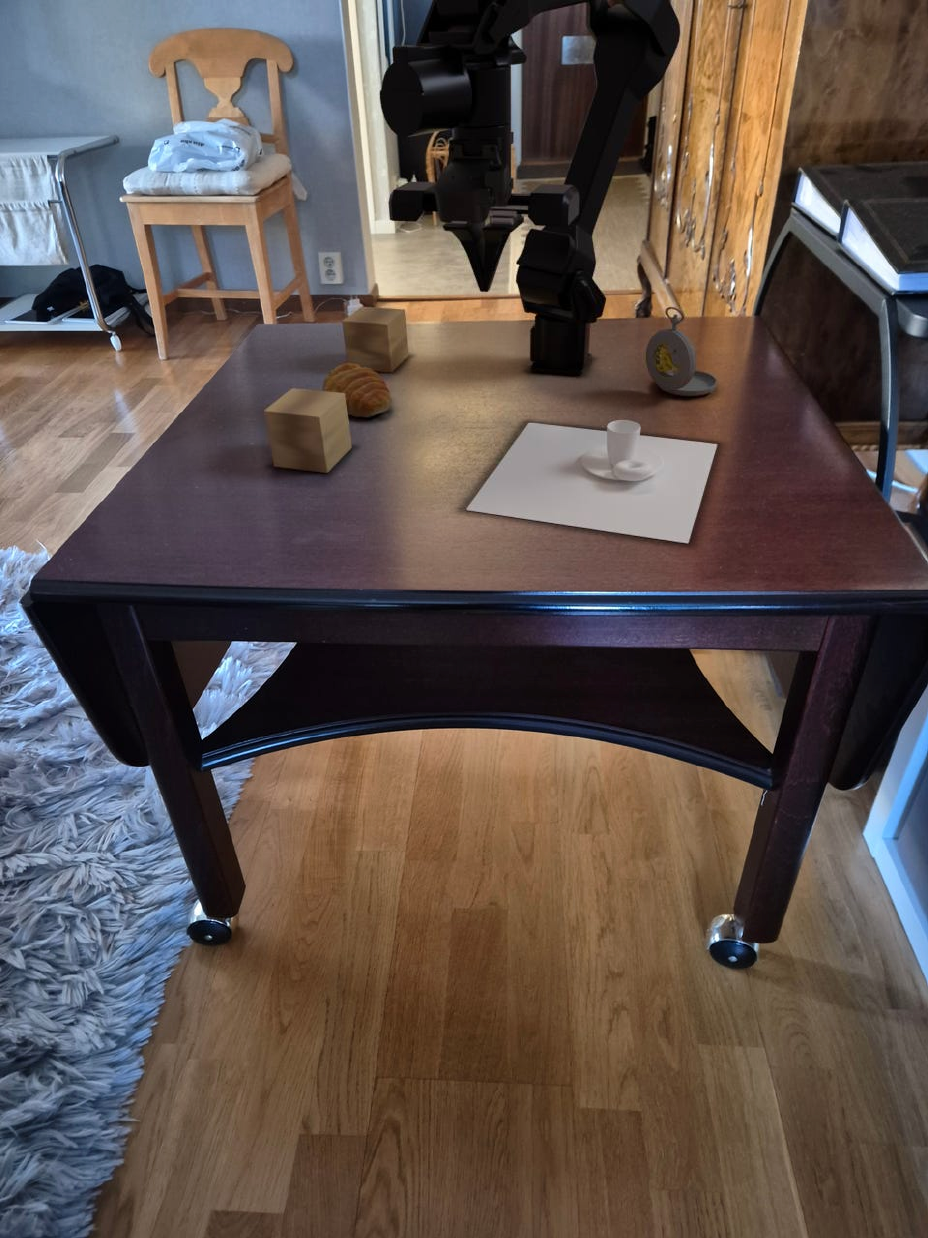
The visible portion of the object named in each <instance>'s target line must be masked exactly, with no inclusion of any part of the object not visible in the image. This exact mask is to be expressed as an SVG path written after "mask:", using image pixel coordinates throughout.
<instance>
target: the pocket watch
mask: <svg viewBox="0 0 928 1238" xmlns="http://www.w3.org/2000/svg"><path fill="white" fill-rule="evenodd" d="M669 310H674V311H677V312H678V313H679V314H680V316H681V318H680V319H679V318H678V317H679V315H678V314H677V313H675V314H673V316H672V317H671V316H670V314H669V313H668V312H669ZM664 311H665V312H664V313H665V315H666V317H667V319H669V321H670V323H671V324H672V325H671V327H666V328H663V329H660V330H658V331H657V332H655V334H653V335H652V336H651V338H650V339H649V341H648V343H647V345H646V348H645V365H646V369H647V372H648V374H649V376H650V377H651V379H652V380H653V381H654V383H655V384H656V385H658V386H659V388H660V389H661V390H662V391H664V392H666V393H669V394H673V395H676V396H683V397H695V396H704V395H707V394H710V393H712V392H713V391H715V389H717V387H718V379H717V378H716V376H714V374H711V373H709V372H707V371H702V370H697V369H696V365H697V358H696V352H695V348H694V346H693V344H692V342H691V340H690V339H689V337H688V336H687V335H686V334H685V333H684V332H683V331H682V330H679V329H678V327H677V325H679V324H680V323H682V322H684V320H685V315H684V313H683V312H682V311H681V310H680V309H679V308H677V307H675V306H668V307H666V308H665V310H664Z"/></svg>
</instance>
